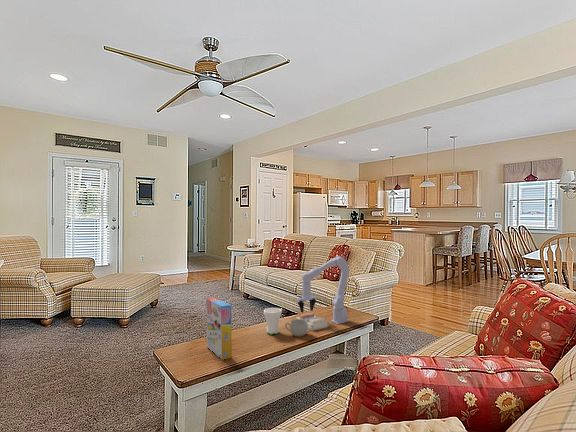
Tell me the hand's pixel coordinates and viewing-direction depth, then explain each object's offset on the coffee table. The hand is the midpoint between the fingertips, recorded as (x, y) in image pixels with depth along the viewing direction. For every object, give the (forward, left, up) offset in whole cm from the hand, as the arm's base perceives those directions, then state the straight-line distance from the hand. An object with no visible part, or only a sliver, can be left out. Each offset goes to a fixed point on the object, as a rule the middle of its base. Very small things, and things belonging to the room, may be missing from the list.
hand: (306, 311), depth 224 cm
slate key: (0, +6, -5) cm, 8 cm away
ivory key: (0, +12, -5) cm, 13 cm away
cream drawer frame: (0, +6, -8) cm, 10 cm away
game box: (+67, +17, -8) cm, 70 cm away
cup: (+29, +6, -8) cm, 31 cm away
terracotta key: (0, 0, -4) cm, 4 cm away
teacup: (+18, +16, -8) cm, 25 cm away
